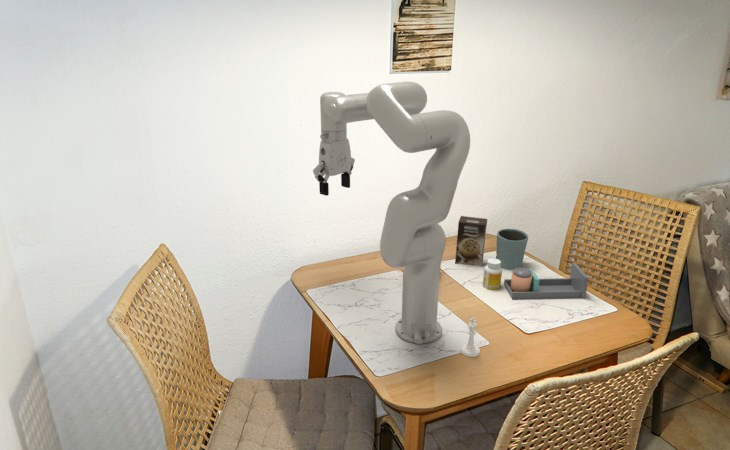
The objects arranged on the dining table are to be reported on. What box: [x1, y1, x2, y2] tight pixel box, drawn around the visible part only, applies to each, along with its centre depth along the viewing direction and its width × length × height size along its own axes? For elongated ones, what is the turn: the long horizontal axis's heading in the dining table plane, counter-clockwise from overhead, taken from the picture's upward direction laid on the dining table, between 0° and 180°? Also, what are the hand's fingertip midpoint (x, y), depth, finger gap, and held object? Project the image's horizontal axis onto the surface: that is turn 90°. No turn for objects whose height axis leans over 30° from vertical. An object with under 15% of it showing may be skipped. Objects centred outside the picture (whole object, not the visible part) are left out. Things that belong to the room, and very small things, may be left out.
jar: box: [510, 266, 532, 292], centre depth 169 cm, size 6×6×7 cm
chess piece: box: [460, 316, 481, 358], centre depth 141 cm, size 5×5×10 cm
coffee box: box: [454, 215, 488, 267], centre depth 188 cm, size 9×6×16 cm
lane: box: [503, 262, 590, 301], centre depth 170 cm, size 10×22×8 cm, turn 93°
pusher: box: [528, 268, 541, 292], centre depth 169 cm, size 7×1×6 cm, turn 3°
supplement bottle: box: [482, 258, 503, 291], centre depth 172 cm, size 5×5×10 cm
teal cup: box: [495, 228, 529, 271], centre depth 186 cm, size 10×10×12 cm
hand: (335, 190), depth 170 cm, fingers open, 9 cm apart
